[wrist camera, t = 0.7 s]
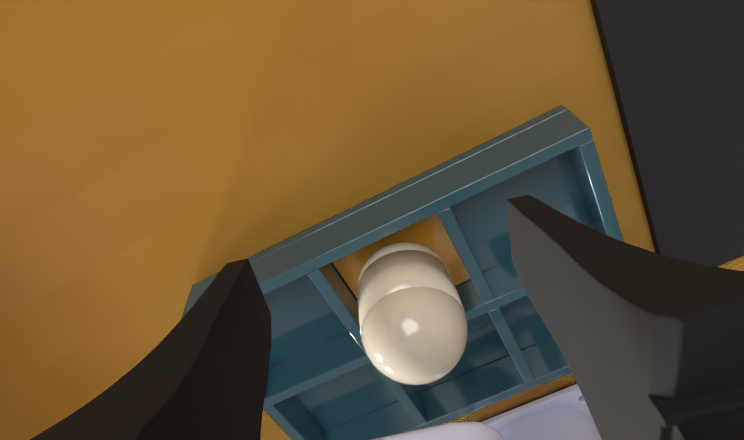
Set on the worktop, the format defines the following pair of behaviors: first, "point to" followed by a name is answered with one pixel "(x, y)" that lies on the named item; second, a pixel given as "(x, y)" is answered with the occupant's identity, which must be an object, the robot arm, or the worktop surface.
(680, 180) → the mat
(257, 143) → the worktop surface
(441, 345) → the egg
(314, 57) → the worktop surface
